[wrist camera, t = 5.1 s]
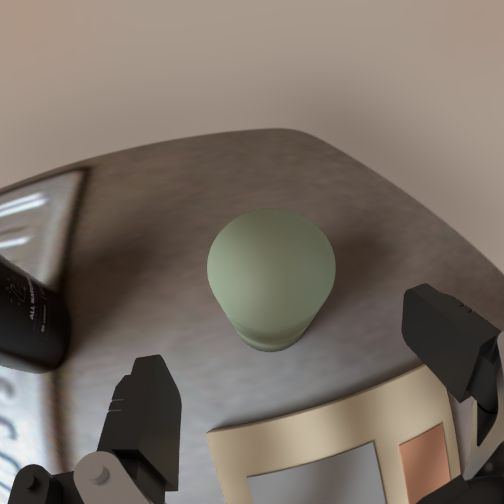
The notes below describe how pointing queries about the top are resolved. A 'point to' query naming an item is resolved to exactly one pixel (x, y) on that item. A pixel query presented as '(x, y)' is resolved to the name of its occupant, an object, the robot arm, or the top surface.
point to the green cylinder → (271, 275)
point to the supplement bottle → (30, 322)
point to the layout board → (345, 448)
